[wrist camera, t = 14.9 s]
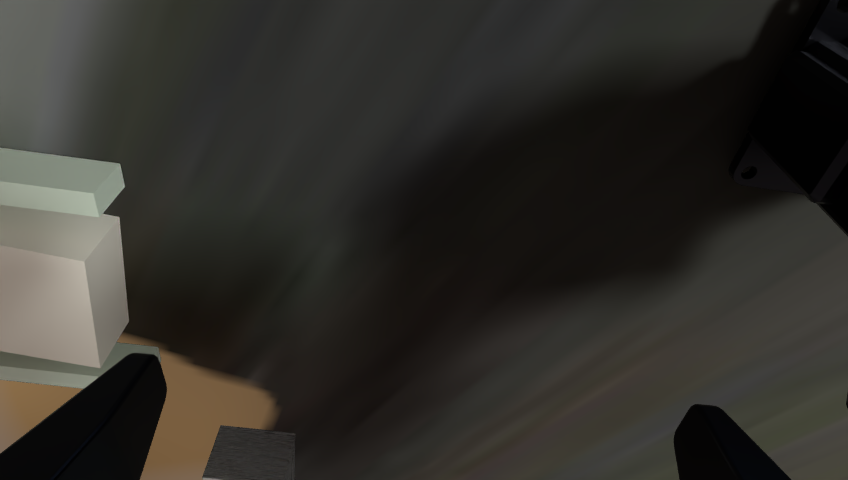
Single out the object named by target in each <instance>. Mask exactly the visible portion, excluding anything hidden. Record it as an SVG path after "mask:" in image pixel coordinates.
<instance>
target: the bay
mask: <svg viewBox="0 0 848 480" xmlns="http://www.w3.org/2000/svg"><path fill="white" fill-rule="evenodd" d="M124 187H125V185H124V180H123V175H122V170H121V166H120V164H119V163H111V162H104V161H96V160H89V159H82V158H74V157H67V156H59V155H52V154H44V153H37V152H30V151H22V150H15V149H7V148H0V205H6V206H14V207H22V208H30V209H37V210H45V211H53V212H61V213H69V214H77V215H84V216H92V217H100V216H101V215H102V214H103V212H104V211H105V210H106V209H107V208H108V206H109V205H110V204H111V203H112V202H113V200H114V199H115V198H116V197H117V196H118V194H119V193H120V192H121V191H122V190H123V188H124ZM131 353H145V354H154V355H156V356H157V357H158V359H159V361H160V362H161V358H160V353H159V348H158V347H154V346H145V345H136V344H127V343H119V342H116V344H115V345H114V347H113V348H112V350H111V352H110V353H109V355H108V357H107V358H106V360H105V362H104V363H103V365H102V367H101V368H95V367H89V366H84V365H78V364H72V363H66V362H60V361H55V360H49V359H43V358H37V357H32V356H26V355H20V354H14V353H9V352H3V351H0V380H7V381H17V382H26V383H36V384H45V385H54V386H64V387H73V388H82V389H84V388H85V387H87V386H88V385H89V384H90V383H92V382H93V381H94V380H96V379H97V378H98V377H99V376H101V375H102V374H103V373H105V372H106V371H107V370H108V369H110V368H111V367H112V366H114V365H115V364H116V363H117V362H119V361H120V360H121V359H123V358H124V357H125V356H127V355H129V354H131Z"/></svg>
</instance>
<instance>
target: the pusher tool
mask: <svg viewBox="0 0 848 480" xmlns="http://www.w3.org/2000/svg"><path fill="white" fill-rule="evenodd" d="M202 479H203V480H295V433H288V432H278V431H268V430H263V429H253V428H243V427H233V426H223V425H221V426H220V429H219V432H218V434H217V437H216V440H215V443H214V446H213V449H212V451H211V454H210V457H209V460H208V463H207V466H206V468H205V471H204V474H203V477H202Z"/></svg>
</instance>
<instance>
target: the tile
mask: <svg viewBox="0 0 848 480" xmlns="http://www.w3.org/2000/svg"><path fill="white" fill-rule="evenodd" d="M128 322H129V316H128V305H127V295H126V284H125V273H124V263H123V252H122V241H121V231H120V220H119V217H116V216H111V215H106V214H102V215H101V216H100V217H92V216H84V215H77V214H69V213H61V212H53V211H45V210H37V209H30V208H22V207H14V206H6V205H0V351H3V352H9V353H14V354H20V355H26V356H32V357H37V358H43V359H49V360H55V361H60V362H66V363H72V364H78V365H84V366H89V367H95V368H101V367H102V365H103V363H104V362H105V360H106V358H107V357H108V355H109V353H110V352H111V350H112V348H113V347H114V345H115V344H116V342H117V340H118V339H119V337H120V335H121V334H122V332H123V330H124V329H125V327H126V325H127V324H128Z"/></svg>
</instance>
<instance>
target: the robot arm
mask: <svg viewBox="0 0 848 480" xmlns="http://www.w3.org/2000/svg"><path fill="white" fill-rule="evenodd" d="M838 1H839V0H820V2H819V4H818V5H817V7H816V9H815V11H814V13H813V14H812V16H811V18H810V20H809V22H808V24H807V25H806V27H805V29H804V31H803V33H802V35H801V36H800V38H799V40H798V42H797V44H796V46H795V47H794V49H793V51H792V53H791V54H790V55H789V56H788V57H787V58H786V59H785V61H784V63H783V65H782V66H781V68H780V70H779V72H778V74H777V76H776V77H775V79H774V81H773V83H772V85H771V87H770V89H769V90H768V92H767V94H766V96H765V98H764V100H763V101H762V103H761V105H760V107H759V109H758V111H757V112H756V114H755V116H754V118H753V120H752V122H751V123H750V125H749V127H748V133H747V135H746V137H745V139H744V141H743V142H742V144H741V146H740V148H739V150H738V151H737V153H736V155H735V157H734V159H733V161H732V162H731V164H730V167H729V174H730V176H731V177H732V178H733V179H734V181H735V182H736V183H737V184H740V185H743V186H750V187H757V188H764V189H771V190H778V191H785V192H792V193H799V194H804V195H805V196H806V197H807V198H808V199H809V200H810V201H812V202H814V203H817V204H818V205H819V207H820V208H821V209H822V210H823V211H824V212H825V213H826V214H827V215H828V216H829V217H830V218H831V219H832V220H833V221H834V222H835V223H836V224H837V225H838V227H839V228H840V229H841V230H842V231H843V232H844V233H845V234H846V235H847V236H848V1H847V2H846V3H845V4H844V6H842V7H840V8H838V9H837V4H838ZM749 166H752V167H751V169H750V170H749V171H747V172H745V173H742V171H743V170H744V169H745V168H747V167H749ZM166 392H167V387H166V382H165V378H164V375H163V372H162V368H161V364H160V361H159V359H158V357H157V356H156V355H154V354H145V353H131V354H129V355H127V356H125V357H124V358H123V359H121V360H120V361H119V362H117V363H116V364H115V365H114V366H112V367H111V368H110V369H108V370H107V371H106V372H105V373H103V374H102V375H101V376H99V377H98V378H97V379H96V380H94V381H93V382H92V383H90V384H89V385H88V386H87V387H85V388H84V389H83V390H81V391H80V392H79V393H78V394H77V395H75V396H74V397H73V398H71V399H70V400H69V401H67V402H66V403H65V404H63V405H62V406H61V407H60V408H58V409H57V410H56V411H54V412H53V413H52V414H51V415H49V416H48V417H47V418H45V419H44V420H43V421H42V422H40V423H39V424H38V425H36V426H35V427H34V428H33V429H31V430H30V431H29V432H28V433H26V434H25V435H24V436H23V437H21V438H20V439H18V440H17V441H16V442H15V443H13V444H12V445H11V446H9V447H8V448H7V449H6V450H4V451H3V452H2V453H0V480H140V477H141V474H142V471H143V468H144V465H145V462H146V459H147V455H148V452H149V449H150V446H151V443H152V440H153V437H154V433H155V430H156V427H157V424H158V421H159V418H160V414H161V411H162V408H163V405H164V402H165V398H166ZM846 405H847V408H848V394H847V401H846ZM674 449H675V455H676V461H677V467H678V473H679V479H680V480H791V479H790V478H789V477H788V476H787V475H786V474H785V473H784V472H783V471H782V470H781V469H780V468H779V467H778V466H777V465H776V464H775V462H774V461H773V460H772V459H771V458H770V457H769V456H768V455H767V454H766V453H765V452H764V451H763V450H762V449H761V448H760V447H759V446H758V445H757V444H756V443H755V442H754V441H753V440H752V439H751V438H750V437H749V436H748V435H747V434H746V433H745V432H744V431H743V430H742V429H741V428H740V427H739V426H738V425H737V424H736V423H735V422H734V421H733V420H732V419H731V418H730V417H729V416H728V415H727V414H726V413H725V412H724V411H723V410H722V409H721V408H719V407H717V406H712V405H701V404H695V405H693V406H691V407H690V408H689V410H688V412H687V413H686V415H685V416H684V418H683V420H682V421H681V423H680V424H679V426H678V428H677V429H676V431H675V435H674Z"/></svg>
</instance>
